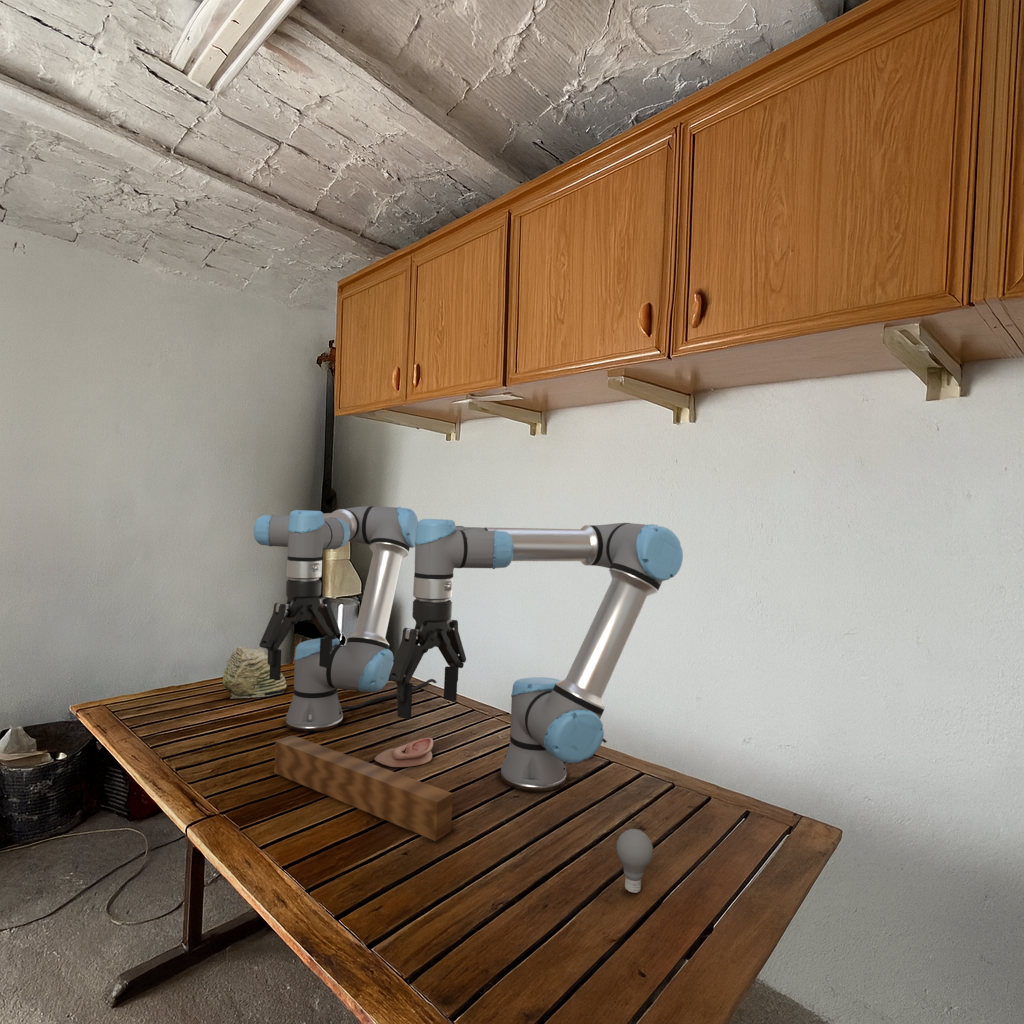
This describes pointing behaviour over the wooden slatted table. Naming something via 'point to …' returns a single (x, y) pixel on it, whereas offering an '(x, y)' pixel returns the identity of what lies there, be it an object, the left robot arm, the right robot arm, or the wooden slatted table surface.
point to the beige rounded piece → (407, 754)
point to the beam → (366, 786)
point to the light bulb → (634, 857)
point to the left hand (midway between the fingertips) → (300, 672)
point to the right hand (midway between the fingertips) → (428, 708)
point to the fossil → (251, 675)
